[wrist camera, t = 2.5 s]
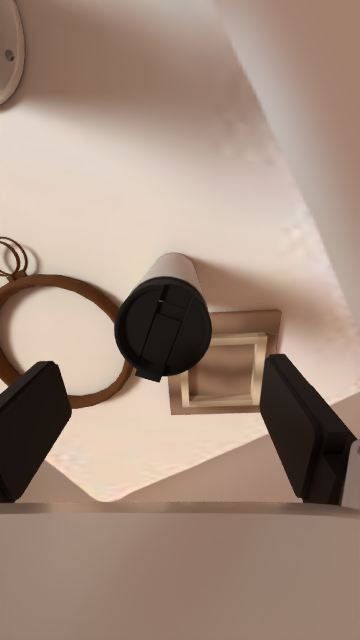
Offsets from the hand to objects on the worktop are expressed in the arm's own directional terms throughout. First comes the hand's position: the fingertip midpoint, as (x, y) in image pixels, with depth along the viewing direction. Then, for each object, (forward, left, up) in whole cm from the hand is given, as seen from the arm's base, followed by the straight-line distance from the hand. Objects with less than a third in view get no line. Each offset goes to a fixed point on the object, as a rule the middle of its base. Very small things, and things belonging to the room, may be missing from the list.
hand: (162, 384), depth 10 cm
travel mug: (0, 0, -24) cm, 24 cm away
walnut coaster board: (+16, +7, -24) cm, 29 cm away
